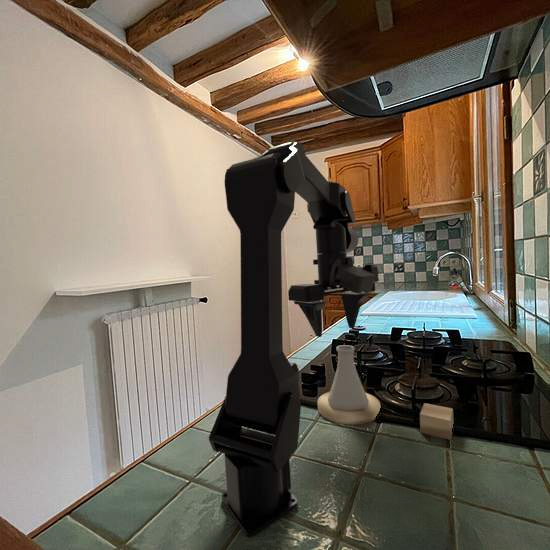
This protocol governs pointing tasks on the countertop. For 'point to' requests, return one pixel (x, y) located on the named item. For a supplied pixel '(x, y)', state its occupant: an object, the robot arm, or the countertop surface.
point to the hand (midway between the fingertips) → (336, 332)
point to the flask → (347, 383)
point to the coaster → (352, 415)
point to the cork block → (436, 421)
